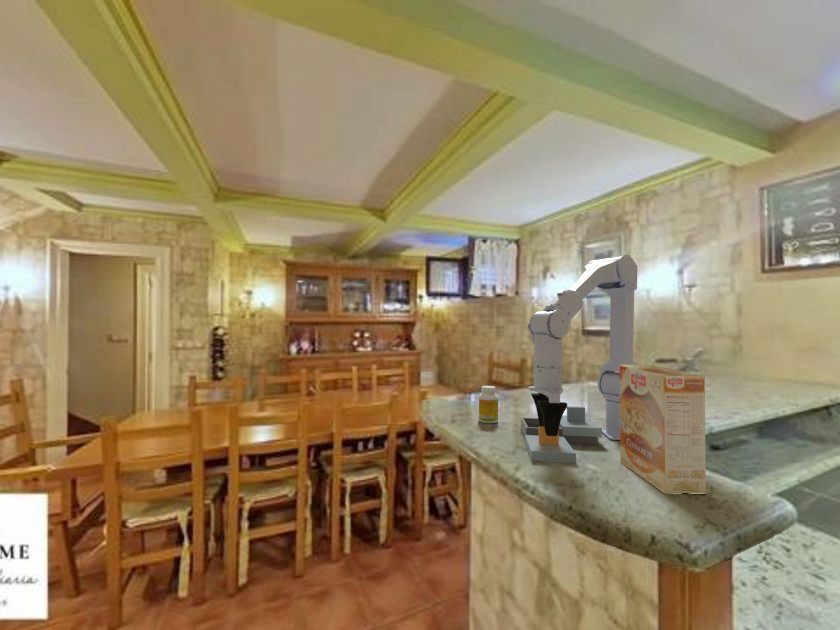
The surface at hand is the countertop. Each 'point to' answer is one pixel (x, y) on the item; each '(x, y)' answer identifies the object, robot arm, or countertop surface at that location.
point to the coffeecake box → (663, 427)
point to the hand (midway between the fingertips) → (547, 430)
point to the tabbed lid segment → (549, 448)
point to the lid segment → (579, 423)
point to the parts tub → (531, 428)
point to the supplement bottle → (488, 405)
